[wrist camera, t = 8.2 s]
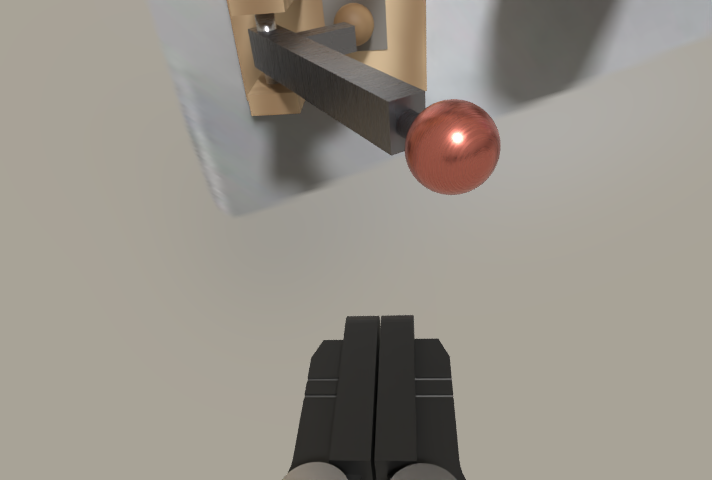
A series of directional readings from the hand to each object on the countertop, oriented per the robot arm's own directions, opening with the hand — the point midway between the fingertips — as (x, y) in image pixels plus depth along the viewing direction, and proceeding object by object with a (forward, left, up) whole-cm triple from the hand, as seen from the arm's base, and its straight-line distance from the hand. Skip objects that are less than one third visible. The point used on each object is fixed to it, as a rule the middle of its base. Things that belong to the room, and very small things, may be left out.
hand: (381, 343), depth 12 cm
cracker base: (+5, 0, -35) cm, 35 cm away
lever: (+7, 0, -28) cm, 29 cm away
